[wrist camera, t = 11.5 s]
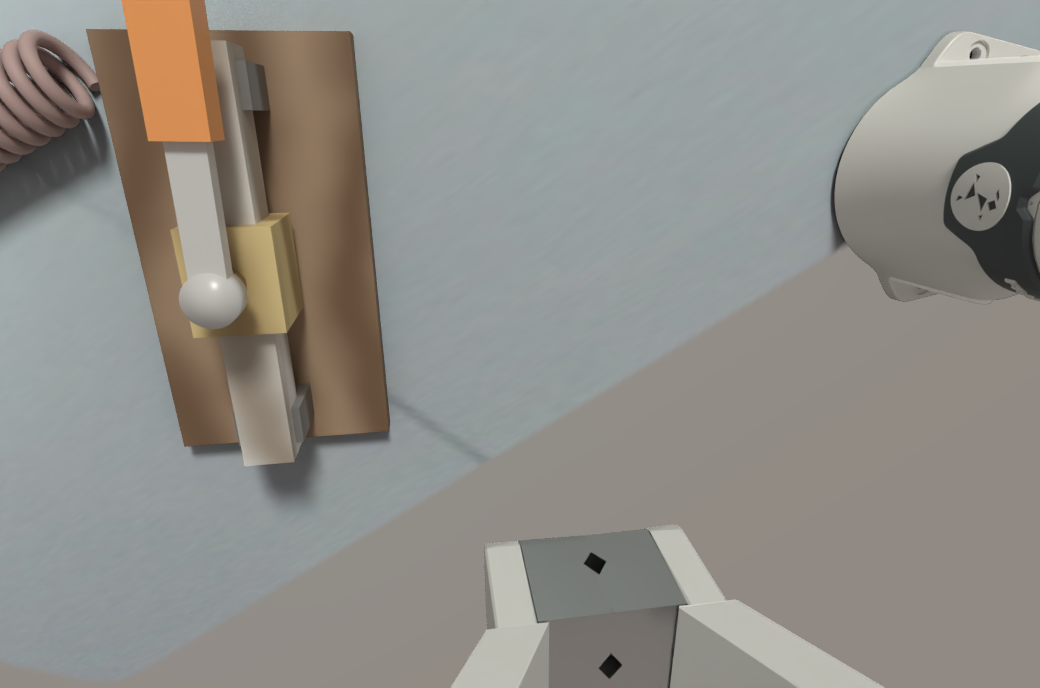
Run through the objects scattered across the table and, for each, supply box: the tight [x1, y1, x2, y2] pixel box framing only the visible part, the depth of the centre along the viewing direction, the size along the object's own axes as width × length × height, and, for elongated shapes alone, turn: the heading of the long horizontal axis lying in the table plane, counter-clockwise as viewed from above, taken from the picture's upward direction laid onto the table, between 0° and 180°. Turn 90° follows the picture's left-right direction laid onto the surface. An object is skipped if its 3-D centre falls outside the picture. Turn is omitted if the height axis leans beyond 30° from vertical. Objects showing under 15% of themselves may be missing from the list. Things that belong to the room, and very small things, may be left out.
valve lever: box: [122, 0, 248, 329], centre depth 28 cm, size 15×3×2 cm, turn 179°
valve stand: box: [86, 29, 390, 466], centre depth 36 cm, size 14×26×9 cm, turn 1°
